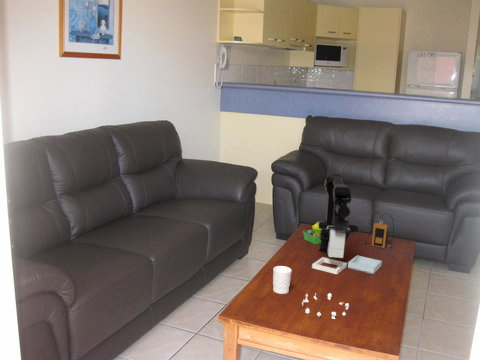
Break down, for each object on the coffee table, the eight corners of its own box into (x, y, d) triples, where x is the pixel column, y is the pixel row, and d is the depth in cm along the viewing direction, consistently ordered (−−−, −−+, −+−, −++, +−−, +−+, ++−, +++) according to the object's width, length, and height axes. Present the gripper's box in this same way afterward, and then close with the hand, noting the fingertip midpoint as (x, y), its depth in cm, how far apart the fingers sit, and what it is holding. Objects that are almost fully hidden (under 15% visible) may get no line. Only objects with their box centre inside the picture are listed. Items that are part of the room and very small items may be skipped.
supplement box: (342, 253, 264) (344, 229, 261) (343, 258, 256) (345, 233, 254) (327, 252, 264) (329, 227, 262) (327, 257, 257) (330, 232, 255)
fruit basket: (301, 239, 303) (302, 220, 301) (313, 237, 308) (315, 219, 305) (313, 245, 294) (315, 225, 291) (325, 243, 298) (327, 224, 296)
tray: (347, 267, 262) (348, 262, 261) (356, 260, 273) (357, 255, 272) (373, 274, 256) (374, 268, 255) (381, 266, 267) (382, 260, 266)
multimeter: (393, 244, 303) (398, 211, 299) (391, 249, 294) (395, 215, 290) (368, 240, 309) (371, 207, 305) (364, 244, 300) (368, 210, 296)
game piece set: (315, 294, 229) (316, 286, 228) (357, 309, 217) (358, 300, 216) (290, 308, 214) (291, 299, 213) (334, 325, 202) (335, 315, 201)
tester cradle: (311, 268, 259) (312, 263, 258) (322, 260, 270) (322, 255, 269) (337, 274, 253) (337, 269, 252) (346, 266, 263) (347, 261, 263)
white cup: (291, 289, 232) (293, 267, 230) (287, 296, 225) (289, 273, 223) (274, 286, 235) (276, 264, 233) (269, 292, 227) (271, 270, 225)
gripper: (320, 214, 249) (317, 246, 252) (361, 218, 247) (357, 249, 250) (319, 208, 260) (317, 238, 263) (358, 211, 258) (355, 242, 261)
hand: (336, 242), depth 259 cm, fingers closed on supplement box, 7 cm apart
